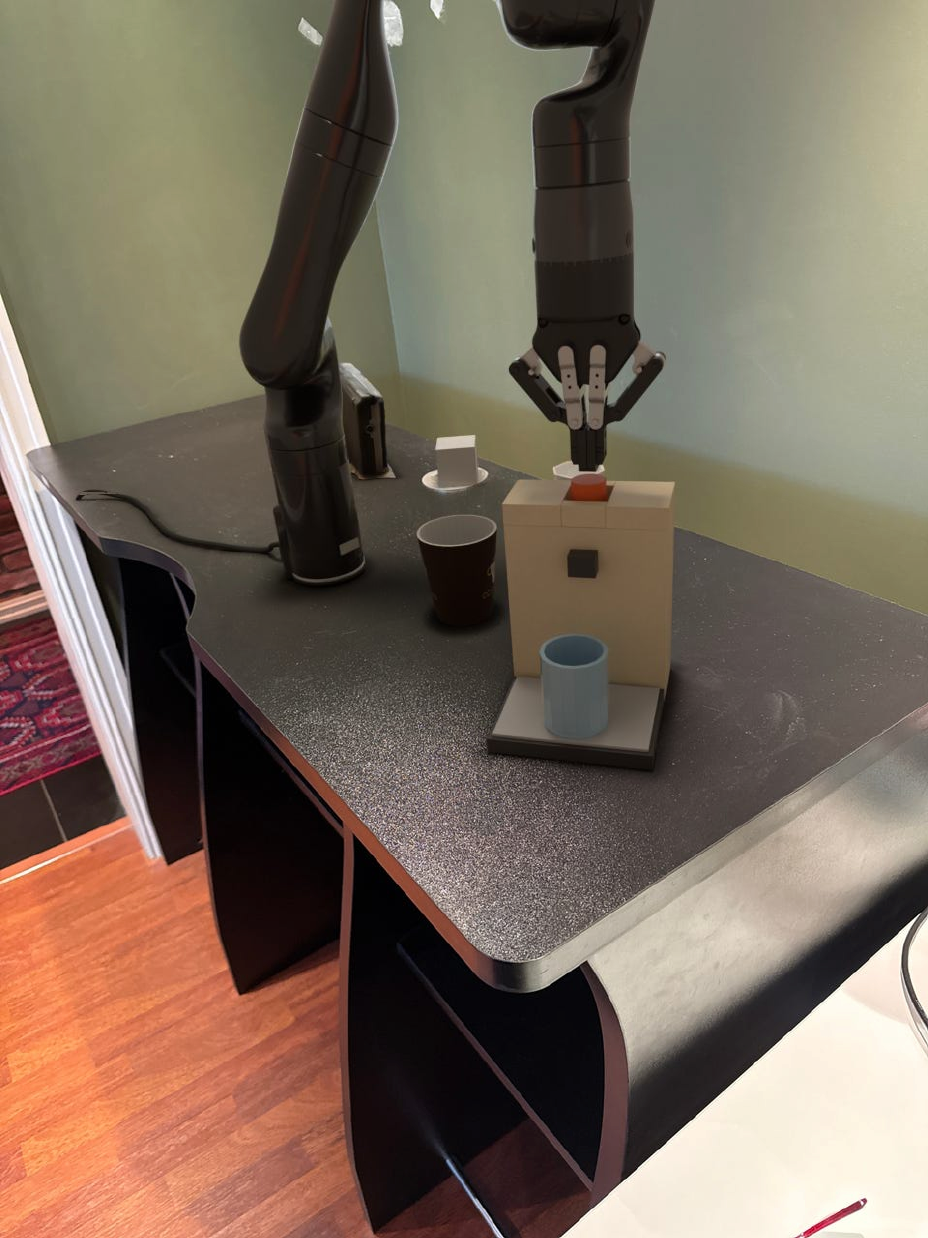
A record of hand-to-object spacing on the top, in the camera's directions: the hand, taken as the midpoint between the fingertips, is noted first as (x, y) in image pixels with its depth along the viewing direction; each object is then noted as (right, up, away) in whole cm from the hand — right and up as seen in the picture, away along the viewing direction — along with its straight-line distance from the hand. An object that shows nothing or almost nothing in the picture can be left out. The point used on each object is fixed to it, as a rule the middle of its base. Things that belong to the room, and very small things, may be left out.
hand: (588, 468), depth 75 cm
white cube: (-11, +9, +64) cm, 65 cm away
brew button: (0, -3, +1) cm, 3 cm away
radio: (-27, +15, +77) cm, 83 cm away
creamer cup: (-1, -21, +1) cm, 22 cm away
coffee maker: (0, -21, +6) cm, 22 cm away
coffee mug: (-10, -11, +26) cm, 30 cm away
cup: (+4, -1, +43) cm, 43 cm away
